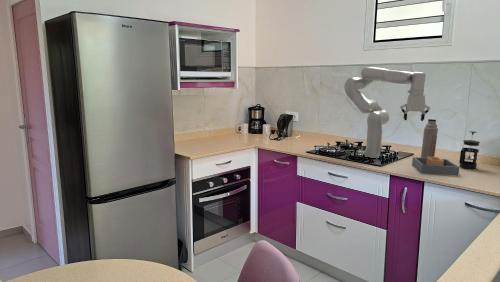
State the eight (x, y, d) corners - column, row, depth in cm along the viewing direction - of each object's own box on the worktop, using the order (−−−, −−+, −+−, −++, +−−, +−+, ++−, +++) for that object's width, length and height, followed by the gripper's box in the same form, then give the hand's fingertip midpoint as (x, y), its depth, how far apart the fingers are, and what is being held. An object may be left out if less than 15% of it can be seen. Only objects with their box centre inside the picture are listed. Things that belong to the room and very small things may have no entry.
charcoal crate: (421, 173, 205) (422, 164, 204) (411, 164, 225) (412, 157, 224) (458, 175, 202) (459, 167, 201) (445, 167, 221) (446, 159, 220)
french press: (468, 165, 227) (473, 130, 223) (481, 169, 218) (486, 132, 214) (453, 166, 224) (458, 130, 220) (465, 170, 215) (471, 132, 211)
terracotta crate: (430, 169, 209) (431, 160, 208) (425, 166, 218) (427, 156, 217) (442, 170, 208) (443, 160, 207) (437, 166, 217) (438, 157, 216)
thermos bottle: (436, 162, 233) (441, 120, 228) (426, 162, 231) (431, 120, 226) (427, 159, 241) (432, 118, 236) (417, 159, 239) (422, 118, 234)
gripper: (403, 92, 215) (400, 120, 218) (433, 93, 212) (430, 121, 215) (400, 91, 222) (397, 119, 225) (429, 92, 219) (426, 120, 222)
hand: (413, 120), depth 220 cm, fingers open, 9 cm apart
